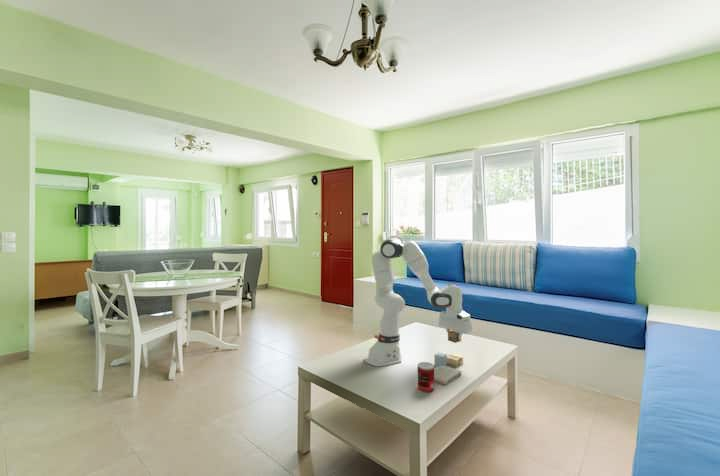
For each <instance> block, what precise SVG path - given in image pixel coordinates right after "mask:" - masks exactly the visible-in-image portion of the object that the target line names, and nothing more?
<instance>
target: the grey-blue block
mask: <svg viewBox="0 0 720 476" xmlns="http://www.w3.org/2000/svg"><path fill="white" fill-rule="evenodd" d="M447 356H448V354H447V353H444V352H443V353H442V352H439V351H438V352H436V353H434V359H433V360H434V367H439V366H441V365H444V366H447V365H448V364H447Z"/></svg>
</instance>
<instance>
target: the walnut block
mask: <svg viewBox="0 0 720 476" xmlns="http://www.w3.org/2000/svg"><path fill="white" fill-rule="evenodd" d="M457 336H459V332H457V331H454V330H450V331H449V332H448V333H447V340H448V341H449V342H451V343H455V344H456V343H460V342H462V339H461V340H458V339H457Z"/></svg>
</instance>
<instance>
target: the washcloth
mask: <svg viewBox="0 0 720 476" xmlns="http://www.w3.org/2000/svg"><path fill="white" fill-rule="evenodd" d="M461 374H462V370H460V369H456V368H452V367H451V366H447V365H446V366H444V365H441V366H439V367H438V366H435V367H434V383H438V384H440V385H444V386H447V385H448V384H450V383H452V382H453V381H454V380H455V379H457V378H459V377H460V376H462V375H461ZM458 376H459V377H458Z"/></svg>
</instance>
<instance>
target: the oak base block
mask: <svg viewBox="0 0 720 476" xmlns="http://www.w3.org/2000/svg"><path fill="white" fill-rule="evenodd" d="M461 364H462V365H463V364H464V357H463V356H461V355H458V354H455V353H450V354H447V365H449V366H451V367H455V368H457V366H458V367H460V366H461ZM459 365H460V366H459Z"/></svg>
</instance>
